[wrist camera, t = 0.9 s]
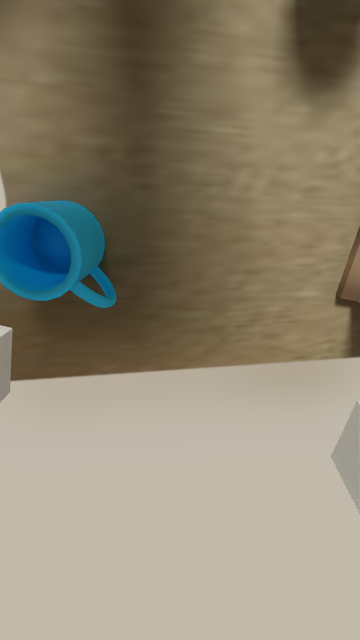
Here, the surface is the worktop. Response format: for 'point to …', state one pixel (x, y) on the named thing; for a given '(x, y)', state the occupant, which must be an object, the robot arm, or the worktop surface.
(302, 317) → the worktop surface
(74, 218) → the mug
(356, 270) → the rig
